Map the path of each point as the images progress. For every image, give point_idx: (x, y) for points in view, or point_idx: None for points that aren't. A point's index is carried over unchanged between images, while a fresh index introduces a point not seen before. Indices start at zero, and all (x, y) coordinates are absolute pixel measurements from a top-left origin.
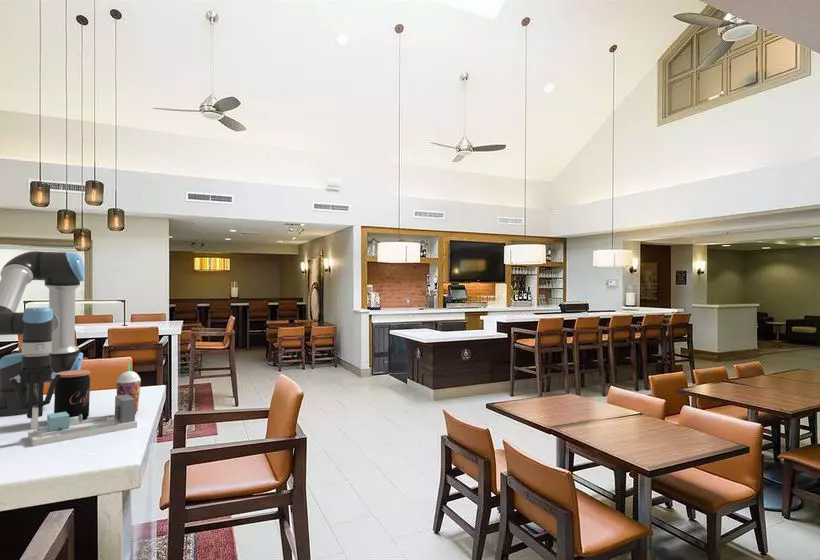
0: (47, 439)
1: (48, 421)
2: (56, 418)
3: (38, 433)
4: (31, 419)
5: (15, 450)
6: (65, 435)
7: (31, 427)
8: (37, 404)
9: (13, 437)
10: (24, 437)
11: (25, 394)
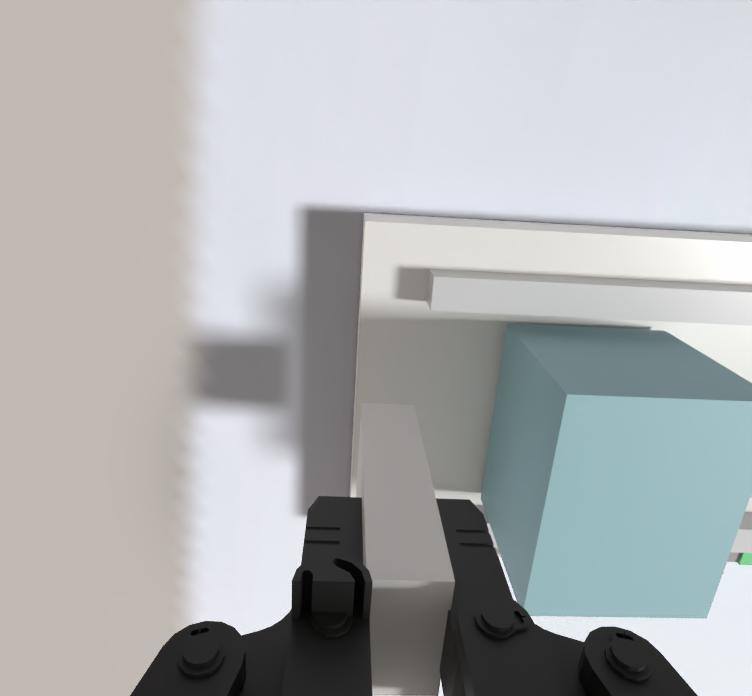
0: None
1: (523, 459)
2: (576, 604)
3: (419, 388)
4: (360, 493)
5: (242, 535)
6: None
7: (358, 464)
8: (456, 640)
9: (255, 100)
10: (338, 189)
11: None
